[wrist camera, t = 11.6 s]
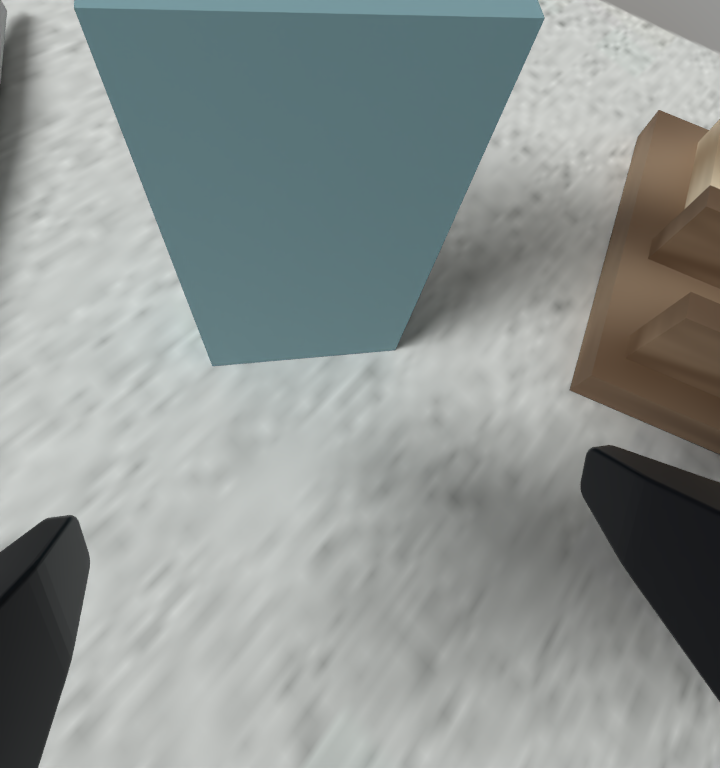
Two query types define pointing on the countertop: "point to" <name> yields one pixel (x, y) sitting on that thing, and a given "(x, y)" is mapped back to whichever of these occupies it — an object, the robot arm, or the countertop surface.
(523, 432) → the countertop surface
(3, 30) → the tool
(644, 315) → the rack
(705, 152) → the offcut bottom
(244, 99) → the pale teal tall slab
